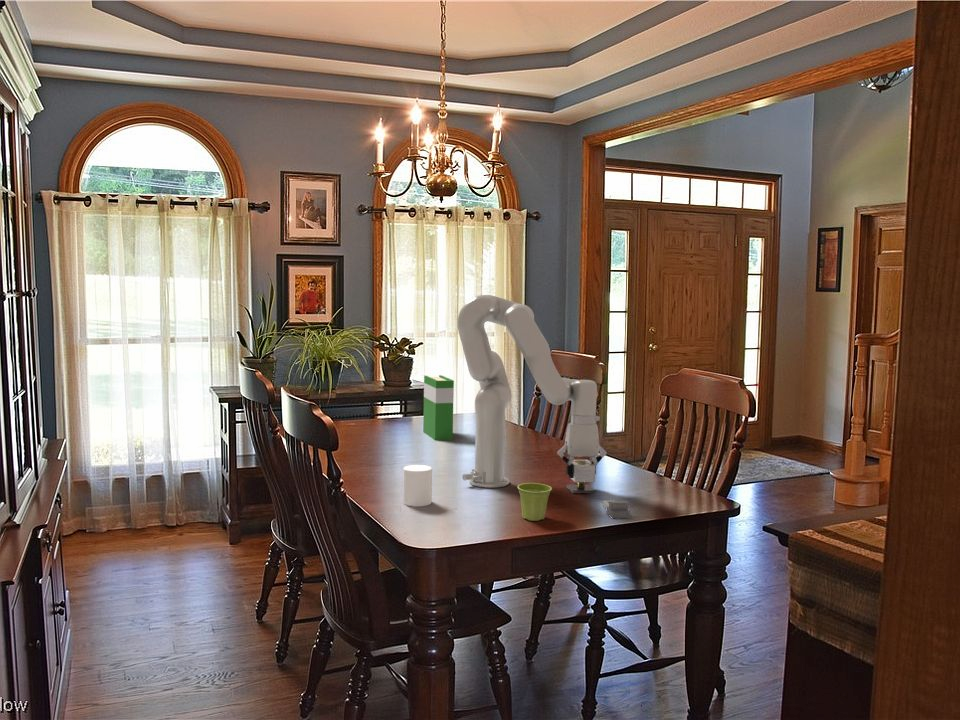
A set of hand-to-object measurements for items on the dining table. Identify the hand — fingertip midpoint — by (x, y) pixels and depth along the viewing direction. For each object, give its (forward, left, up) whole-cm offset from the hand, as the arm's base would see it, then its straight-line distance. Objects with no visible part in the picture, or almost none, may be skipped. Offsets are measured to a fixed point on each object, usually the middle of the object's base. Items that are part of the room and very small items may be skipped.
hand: (580, 476), depth 254 cm
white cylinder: (-49, +19, -5) cm, 53 cm away
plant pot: (-32, -13, -5) cm, 35 cm away
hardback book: (+14, +95, -5) cm, 96 cm away
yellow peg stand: (0, 0, -5) cm, 5 cm away
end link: (0, 0, -1) cm, 1 cm away
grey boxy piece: (-11, -25, -5) cm, 28 cm away
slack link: (-7, -19, -5) cm, 21 cm away
